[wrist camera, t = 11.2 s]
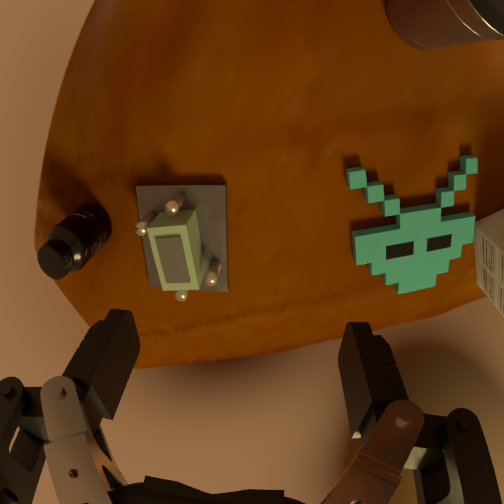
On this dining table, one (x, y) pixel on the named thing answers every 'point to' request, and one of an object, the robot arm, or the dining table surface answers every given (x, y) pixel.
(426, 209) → the alien figure
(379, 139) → the dining table surface
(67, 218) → the supplement bottle
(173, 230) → the block
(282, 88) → the dining table surface
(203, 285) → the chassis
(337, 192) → the dining table surface
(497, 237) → the supplement box
